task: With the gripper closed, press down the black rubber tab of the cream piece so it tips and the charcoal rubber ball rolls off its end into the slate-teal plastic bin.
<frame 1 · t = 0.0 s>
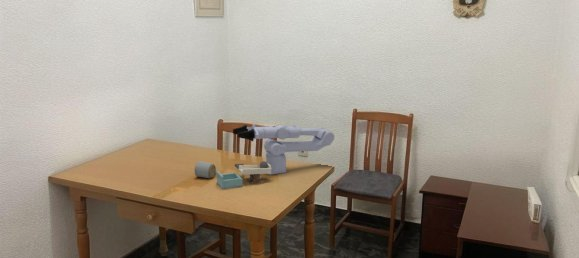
hand: (235, 133, 233), 22 cm above the table, tool horizontal, fingers open, 7 cm apart
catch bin: (229, 184, 228), on the table
ball: (263, 165, 233), point 7 cm above the table, tilted 9°, touching cream piece
ceramic mug: (206, 176, 240), on the table
cream piece: (252, 166, 235), point 6 cm above the table, hinge at -6.0°, touching ball
lever stand: (255, 181, 233), on the table
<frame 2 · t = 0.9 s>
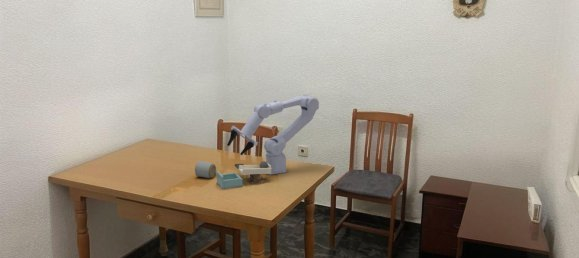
hand: (234, 150, 235), 14 cm above the table, tool tilted 40°, fingers open, 7 cm apart
nothing on the table moved.
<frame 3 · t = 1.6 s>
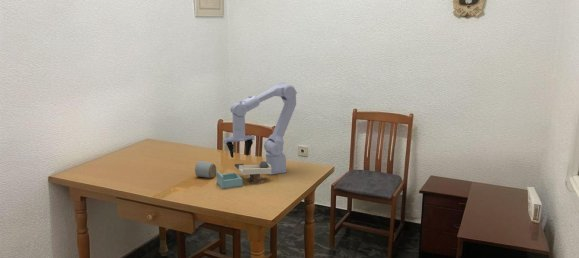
hand: (239, 156, 236), 10 cm above the table, tool pointing down, fingers open, 7 cm apart
nothing on the table moved.
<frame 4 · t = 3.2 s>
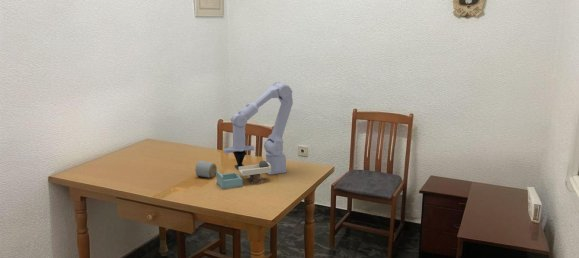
hand: (239, 166, 237), 5 cm above the table, tool pointing down, fingers closed, pressing on cream piece
ball: (263, 164, 233), point 7 cm above the table, touching cream piece
cream piece: (252, 166, 235), point 6 cm above the table, hinge at -0.3°, touching ball, gripper
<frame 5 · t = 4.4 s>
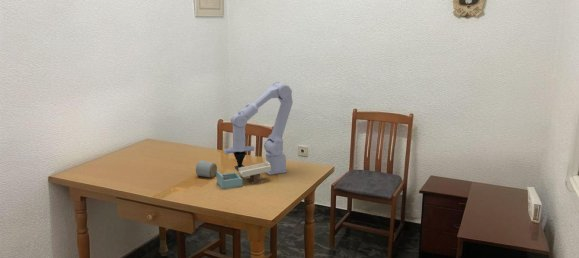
hand: (239, 166, 237), 5 cm above the table, tool pointing down, fingers closed, pressing on cream piece
ball: (225, 180, 227), point 2 cm above the table, tilted 160°, touching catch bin
cream piece: (251, 166, 235), point 6 cm above the table, hinge at 4.1°, touching gripper
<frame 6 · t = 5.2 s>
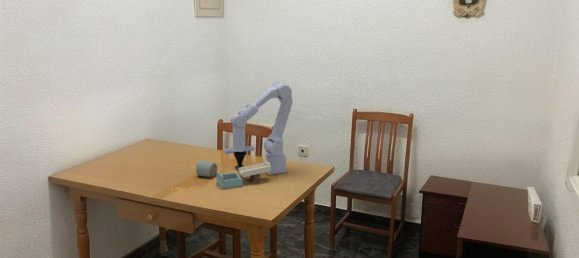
hand: (239, 166, 237), 5 cm above the table, tool pointing down, fingers closed, pressing on cream piece
ball: (226, 180, 227), point 2 cm above the table, tilted 169°, touching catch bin
cream piece: (251, 166, 235), point 6 cm above the table, hinge at 4.1°, touching gripper
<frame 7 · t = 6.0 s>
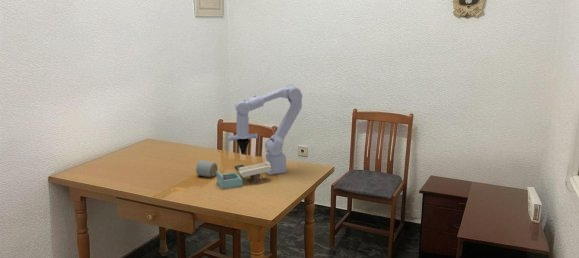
hand: (243, 153, 240), 10 cm above the table, tool pointing down, fingers closed
ball: (227, 180, 227), point 2 cm above the table, tilted 179°, touching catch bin
cream piece: (251, 166, 235), point 6 cm above the table, hinge at 4.1°
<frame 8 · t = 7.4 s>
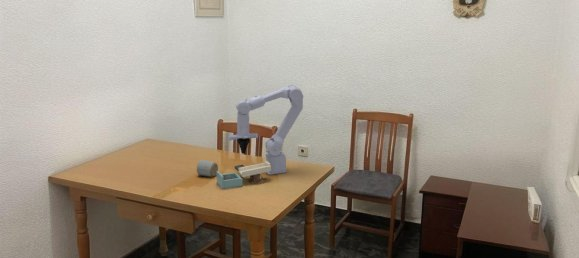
hand: (243, 153, 241), 10 cm above the table, tool pointing down, fingers closed
ball: (228, 179, 227), point 2 cm above the table, tilted 166°, touching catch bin
at the end: ball inside the target area on the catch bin (0.6 cm from its centre), point 2.5 cm above the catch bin's base; ball moved 17.7 cm from its start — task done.
